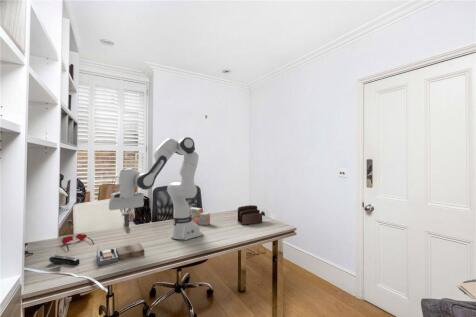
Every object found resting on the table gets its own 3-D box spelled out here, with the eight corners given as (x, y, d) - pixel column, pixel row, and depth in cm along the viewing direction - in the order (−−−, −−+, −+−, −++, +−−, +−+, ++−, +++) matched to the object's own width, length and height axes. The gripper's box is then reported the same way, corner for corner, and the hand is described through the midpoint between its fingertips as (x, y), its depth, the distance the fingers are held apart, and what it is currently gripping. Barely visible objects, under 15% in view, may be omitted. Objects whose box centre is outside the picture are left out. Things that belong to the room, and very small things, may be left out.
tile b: (103, 254, 122) (103, 259, 122) (103, 257, 118) (103, 262, 118) (111, 252, 124) (111, 257, 124) (112, 255, 121) (112, 260, 121)
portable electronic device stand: (49, 262, 120) (49, 256, 120) (54, 260, 122) (54, 254, 122) (75, 266, 115) (75, 260, 115) (79, 264, 118) (80, 258, 118)
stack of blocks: (210, 223, 193) (210, 209, 193) (205, 225, 188) (205, 210, 188) (191, 220, 204) (191, 206, 204) (186, 221, 199) (186, 208, 199)
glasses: (86, 239, 155) (86, 231, 155) (94, 245, 144) (94, 237, 145) (60, 244, 144) (61, 237, 144) (67, 251, 134) (68, 243, 134)
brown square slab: (139, 248, 139) (139, 243, 139) (144, 254, 129) (144, 249, 129) (116, 252, 131) (116, 247, 131) (118, 260, 121) (118, 254, 121)
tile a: (102, 250, 127) (102, 255, 127) (102, 253, 123) (102, 257, 123) (110, 249, 129) (110, 253, 129) (111, 251, 126) (110, 256, 126)
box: (114, 252, 132) (114, 243, 132) (118, 261, 120) (118, 252, 120) (96, 255, 127) (96, 247, 127) (98, 266, 115) (98, 256, 115)
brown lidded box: (237, 222, 199) (237, 206, 199) (256, 219, 207) (256, 204, 207) (242, 225, 190) (242, 208, 190) (262, 222, 198) (262, 206, 198)
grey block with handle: (126, 227, 150) (127, 211, 151) (130, 232, 139) (130, 215, 139) (122, 228, 149) (122, 211, 149) (126, 233, 137) (126, 215, 138)
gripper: (142, 191, 153) (142, 212, 153) (108, 194, 141) (108, 216, 141) (145, 192, 148) (144, 214, 148) (109, 195, 136) (109, 218, 136)
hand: (126, 215), depth 144 cm, fingers closed on grey block with handle, 2 cm apart
